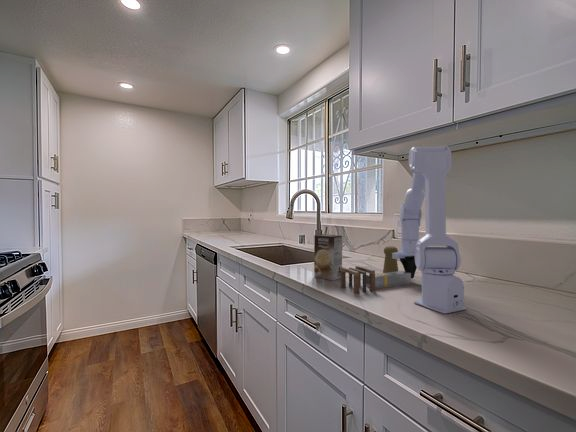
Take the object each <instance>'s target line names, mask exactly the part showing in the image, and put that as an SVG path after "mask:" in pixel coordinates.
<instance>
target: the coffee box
mask: <svg viewBox="0 0 576 432" xmlns="http://www.w3.org/2000/svg"><path fill="white" fill-rule="evenodd" d="M313 237H314V241H313V243H314V245H313V246H314V248H313V251H314V254H313V258H314V259H313V260H314V261H313V262H314V263H313V265H314V266H313V272H314V273H313V277H314V278H319V279H324V280H329V281H337V280H340V268H341V267H343V235H339V234H337V235H335V234H325V233H323V234H322V233H321V234H316V235H315V234H314V236H313Z"/></svg>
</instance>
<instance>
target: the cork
mask: <svg viewBox="0 0 576 432" xmlns="http://www.w3.org/2000/svg"><path fill="white" fill-rule="evenodd" d="M395 252H399V250H398V248H397V247H395V246H385V247H384V248H383V253H384V260H383V269H382V273H387V272H396V271H399V266H398V259H393V258H392V253H395Z"/></svg>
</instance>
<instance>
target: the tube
mask: <svg viewBox="0 0 576 432" xmlns="http://www.w3.org/2000/svg"><path fill="white" fill-rule="evenodd" d="M411 284H412V279H411V273H410V272H406V271H405V270H398V271H396V272H387V273H383V272H381V273H380V272H375V290H376V289H382V288H384V289H385V288H389V287H398V286H405V285H411ZM367 287H368V288H369V274H366V288H367Z"/></svg>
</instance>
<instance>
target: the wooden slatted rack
mask: <svg viewBox="0 0 576 432" xmlns="http://www.w3.org/2000/svg"><path fill="white" fill-rule="evenodd" d="M346 274H348V287H353V293H354V294H355V295H357V294H360V287H361V286H362V293H367V286H366V275H367V274H368V275H369V287H368V288H369V290H368V291H370V292H376V289H375V274H376V270H374V269H371V268H367V267H365V266H364V267H363V266H360V265H355V268H354V267H345V266H342V267H341V268H340V278H339V281H340V285H339V286H340V288H342V289H343V288H346V284H347V283H346V282H347V281H346V280H347V276H346ZM361 274H362V275H361ZM361 276H362V280H361ZM361 281H362V284H361Z"/></svg>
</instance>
